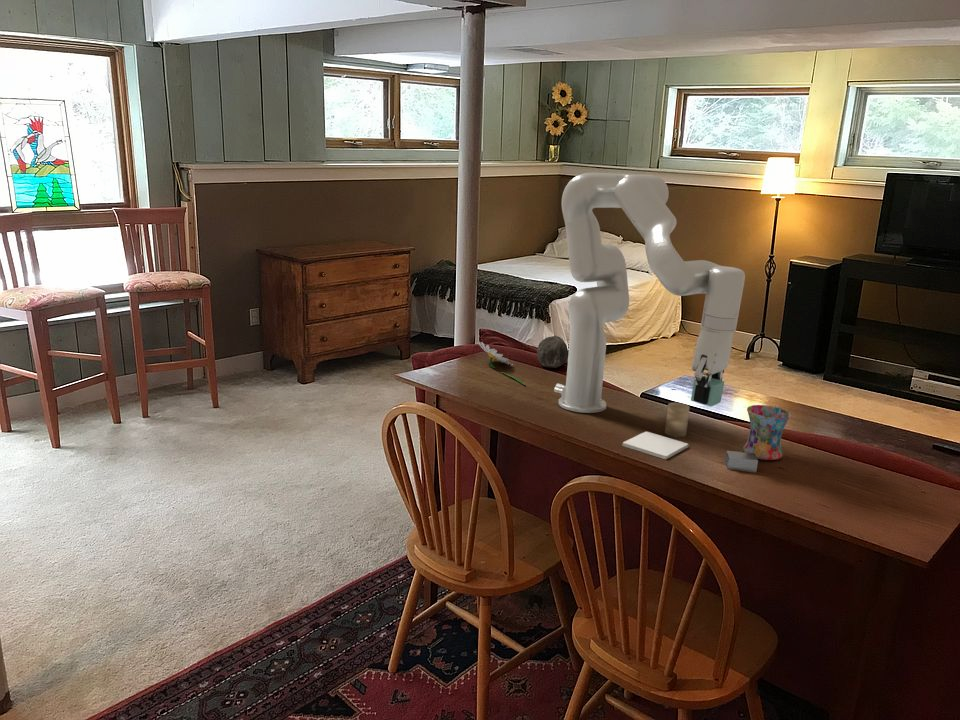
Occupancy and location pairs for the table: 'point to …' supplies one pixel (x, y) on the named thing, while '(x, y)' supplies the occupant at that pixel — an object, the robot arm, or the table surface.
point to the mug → (766, 431)
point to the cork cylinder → (677, 419)
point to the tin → (741, 461)
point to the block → (711, 391)
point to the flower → (495, 356)
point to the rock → (552, 352)
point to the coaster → (655, 445)
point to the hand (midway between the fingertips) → (706, 399)
